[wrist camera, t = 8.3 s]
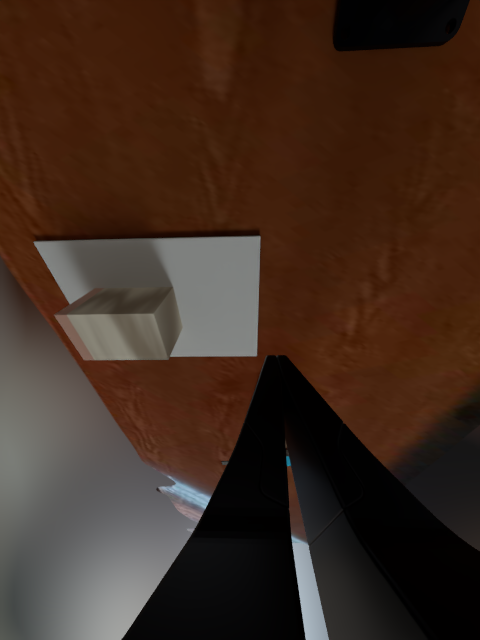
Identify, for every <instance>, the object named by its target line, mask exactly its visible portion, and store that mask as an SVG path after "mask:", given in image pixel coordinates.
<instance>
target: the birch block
mask: <svg viewBox="0 0 480 640" xmlns="http://www.w3.org/2000/svg"><path fill="white" fill-rule="evenodd" d="M54 316H55V317H56V319H57V320H58V322H59V323H60V325H61V326H62V328H63V329H64V331H65V332H66V334H67V335H68V337H69V338H70V340H71V341H72V343H73V344H74V346H75V347H76V349H77V350H78V352H79V353H80V355H81V356H82V358H83V359H84V360H169V357H170V355H171V353H172V351H173V348H174V346H175V344H176V342H177V340H178V337H179V335H180V333H181V331H182V328H183V326H182V322H181V318H180V314H179V309H178V305H177V301H176V297H175V293H174V288H173V287H145V288H94V289H93V290H91V291H90V292H88V293H87V294H85V295H84V296H82V297H81V298H79V299H78V300H76V301H75V302H73V303H72V304H70V305H69V306H67V307H65V308H64V309H62V310H61V311H59V312H58V313H56V314H55V315H54Z"/></svg>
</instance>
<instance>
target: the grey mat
mask: <svg viewBox="0 0 480 640" xmlns="http://www.w3.org/2000/svg"><path fill="white" fill-rule="evenodd" d="M34 244H35V246H36V247H37V249H38V251H39V253H40V254H41V256H42V258H43V259H44V261H45V263H46V264H47V266H48V268H49V270H50V271H51V273H52V275H53V276H54V278H55V280H56V281H57V283H58V285H59V287H60V288H61V290H62V292H63V293H64V295H65V297H66V298H67V300H68V302H69V304H72V303H73V302H75V301H76V300H78V299H79V298H81V297H82V296H84V295H85V294H87V293H88V292H90V291H91V290H93V289H94V288H145V287H173V288H174V293H175V297H176V301H177V305H178V309H179V314H180V318H181V322H182V326H183V328H182V331H181V333H180V335H179V337H178V340H177V342H176V344H175V346H174V348H173V351H172V353H171V355H170V357H173V356H257V334H258V300H259V267H260V236H220V237H179V238H139V239H99V240H58V241H35V242H34Z"/></svg>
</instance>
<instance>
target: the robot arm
mask: <svg viewBox="0 0 480 640" xmlns="http://www.w3.org/2000/svg"><path fill="white" fill-rule="evenodd" d="M469 1H470V0H339V2H338V9H337V16H336V23H335V30H334V36H333V44H334V48H335V49H336V50H337V51H356V50H374V49H393V48H411V47H429V46H441V45H444V44H445V43H446V42H448V41H449V40H450V39H452V38H453V37H454V36H455V34H456V33H457V32H458V30H459V28H460V26H461V23H462V20H463V17H464V15H465V12H466V9H467V6H468V4H469ZM447 23H448V24H449V25H450V30H449V32H448V34H447V33H446V32H445V28H446V25H447ZM343 29H344V30H346V31H347V39H345V40H343V39H342V38H341V30H343ZM285 441H286V442H285ZM286 445H287V450H288V454H289V459H290V463H291V468H292V473H293V477H294V482H295V486H296V491H297V495H298V500H299V504H300V509H301V514H302V518H303V523H304V527H305V532H306V536H307V541H308V545H309V550H310V554H311V559H312V564H313V569H314V573H315V577H316V582H317V586H318V591H319V596H320V600H321V605H322V609H323V614H324V618H325V623H326V627H327V632H328V637H329V640H480V551H478V550H477V549H475V548H474V547H472V546H471V545H470V544H468V543H467V542H466V541H464V540H463V539H461V538H460V537H458V535H456V534H455V533H454V532H453V531H451V530H450V529H449V528H448V527H447V526H445V525H444V524H443V523H442V522H441V521H440V520H438V519H437V518H436V517H435V516H434V515H433V514H432V513H431V512H430V511H429V510H428V509H427V508H426V507H425V506H424V505H423V504H422V503H421V502H420V501H419V500H418V499H417V498H416V497H415V496H414V495H413V494H412V493H411V492H410V491H409V490H408V489H407V488H406V487H405V486H404V485H403V484H402V483H401V482H400V481H399V480H398V479H397V478H396V477H395V476H394V475H393V474H392V473H391V472H390V471H389V470H388V469H387V468H386V467H385V466H384V465H383V464H382V463H381V462H380V461H379V460H378V459H377V458H376V457H375V456H374V455H373V454H372V453H371V452H370V451H369V450H368V449H367V448H366V447H365V446H364V445H363V444H362V442H361V441H360V440H359V439H358V438H357V437H356V436H355V435H354V434H353V432H352V431H351V430H350V429H349V428H348V427H347V425H346V424H343V421H342V420H341V419H340V417H339V416H338V415H337V414H336V413H335V412H334V411H333V409H332V408H331V407H330V406H329V405H328V404H327V402H326V401H325V400H324V399H323V398H322V397H321V395H320V394H319V393H318V392H317V391H316V390H315V389H314V387H313V386H312V385H311V384H310V383H309V382H308V380H307V379H306V378H305V377H304V376H303V375H302V373H301V372H300V371H299V370H298V369H297V368H296V367H295V365H294V364H293V363H292V362H291V361H290V360H289V358H288V357H287V356H285V355H277V356H275V355H267V356H266V359H265V362H264V365H263V368H262V370H261V373H260V376H259V379H258V382H257V385H256V388H255V391H254V394H253V397H252V400H251V403H250V406H249V409H248V412H247V415H246V418H245V421H244V423H243V426H242V429H241V432H240V435H239V438H238V440H237V443H236V446H235V448H234V450H233V453H232V455H231V457H230V459H229V462H228V464H227V466H226V468H225V470H224V472H223V474H222V476H221V478H220V480H219V482H218V484H217V487H216V489H215V491H214V493H213V495H212V497H211V499H210V501H209V503H208V505H207V507H206V509H205V511H204V513H203V515H202V517H201V519H200V521H199V522H198V524H197V526H196V528H195V530H194V531H193V533H192V535H191V537H190V538H189V540H188V541H187V543H186V544H185V546H184V547H183V549H182V550H181V552H180V553H179V555H178V556H177V558H176V559H175V561H174V562H173V564H172V565H171V567H170V568H169V570H168V571H167V573H166V574H165V576H164V578H163V579H162V580H161V582H160V583H159V585H158V586H157V588H156V589H155V591H154V592H153V594H152V595H151V597H150V598H149V600H148V601H147V603H146V604H145V606H144V607H143V609H142V610H141V612H140V613H139V615H138V616H137V618H136V619H135V621H134V622H133V624H132V625H131V627H130V628H129V630H128V631H127V633H126V634H125V636H124V637H123V638H122V640H306V639H305V632H304V625H303V619H302V612H301V604H300V597H299V590H298V583H297V576H296V568H295V561H294V554H293V547H292V538H291V527H290V513H289V495H288V478H287V460H286Z"/></svg>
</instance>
